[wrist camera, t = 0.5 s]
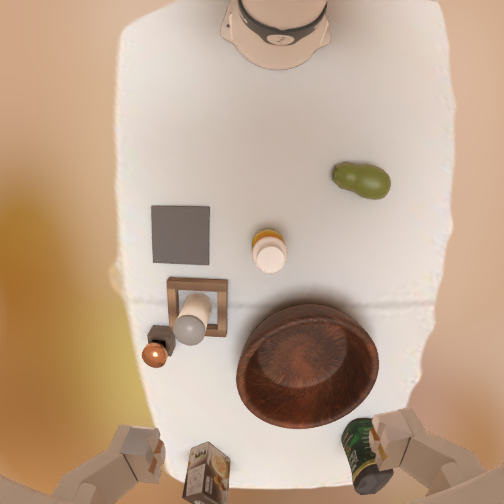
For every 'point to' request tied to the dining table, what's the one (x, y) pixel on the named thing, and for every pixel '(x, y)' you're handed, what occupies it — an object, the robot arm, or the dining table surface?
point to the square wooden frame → (173, 309)
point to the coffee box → (207, 476)
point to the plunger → (155, 354)
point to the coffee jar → (363, 458)
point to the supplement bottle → (269, 251)
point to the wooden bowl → (306, 367)
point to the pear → (363, 180)
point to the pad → (180, 234)
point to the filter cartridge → (193, 319)
